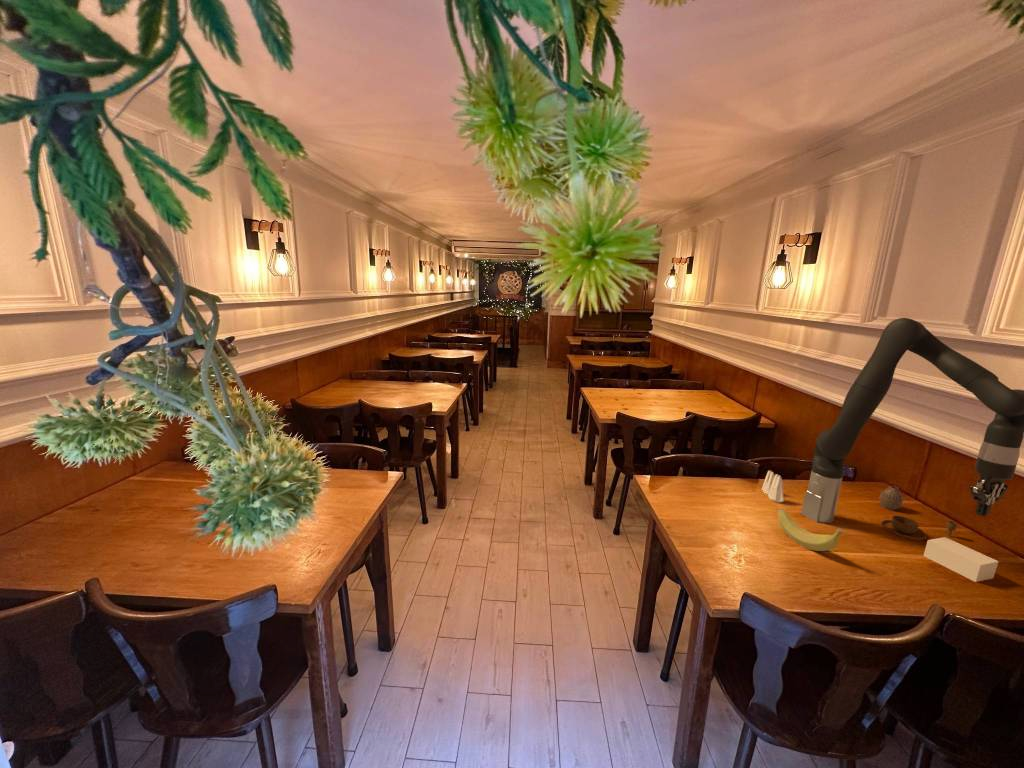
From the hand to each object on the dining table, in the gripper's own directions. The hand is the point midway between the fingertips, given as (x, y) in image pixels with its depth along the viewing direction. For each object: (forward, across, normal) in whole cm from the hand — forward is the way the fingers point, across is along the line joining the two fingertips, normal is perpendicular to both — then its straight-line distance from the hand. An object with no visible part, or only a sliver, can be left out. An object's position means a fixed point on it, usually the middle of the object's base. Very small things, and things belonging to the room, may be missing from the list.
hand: (981, 514), depth 126 cm
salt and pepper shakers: (+19, -18, +53) cm, 59 cm away
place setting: (+20, +11, +19) cm, 30 cm away
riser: (+20, +1, +3) cm, 20 cm away
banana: (+17, -37, +30) cm, 51 cm away
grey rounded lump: (+20, +23, +36) cm, 47 cm away
